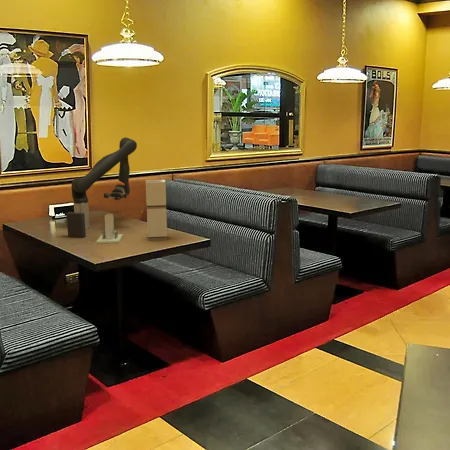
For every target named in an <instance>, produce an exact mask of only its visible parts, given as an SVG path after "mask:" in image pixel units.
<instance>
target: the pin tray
mask: <svg viewBox="0 0 450 450" xmlns="http://www.w3.org/2000/svg"><path fill="white" fill-rule="evenodd" d="M101 232H102V234H101V235H100V236H99V238H98V239H97V240H96V242H95V243H96V244H119V243H120V242H121V240H122V239H123V237H124V234H123V233H122V234H121V233H120V234H119V233H118V232H119V231H118V230H117V229H116V230H115V229H114V237H113V239H106V235H105V230H104V229H103V231H101Z"/></svg>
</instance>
